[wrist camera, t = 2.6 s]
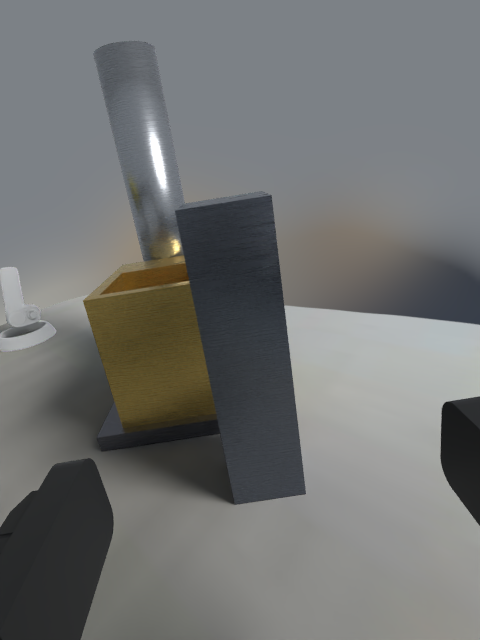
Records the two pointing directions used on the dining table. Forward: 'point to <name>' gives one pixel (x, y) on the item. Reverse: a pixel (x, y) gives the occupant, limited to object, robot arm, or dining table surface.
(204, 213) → the grey square peg
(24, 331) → the white vr controller
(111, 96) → the flanged pole stand
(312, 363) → the dining table surface
